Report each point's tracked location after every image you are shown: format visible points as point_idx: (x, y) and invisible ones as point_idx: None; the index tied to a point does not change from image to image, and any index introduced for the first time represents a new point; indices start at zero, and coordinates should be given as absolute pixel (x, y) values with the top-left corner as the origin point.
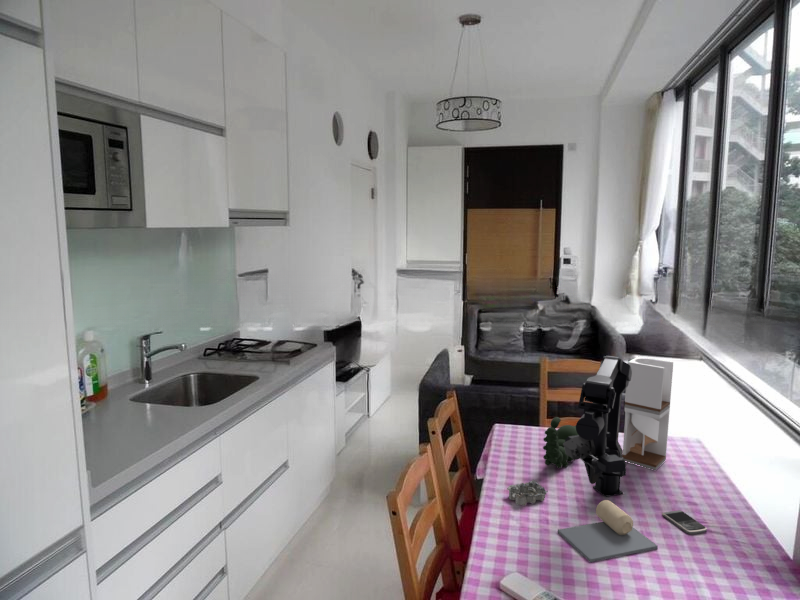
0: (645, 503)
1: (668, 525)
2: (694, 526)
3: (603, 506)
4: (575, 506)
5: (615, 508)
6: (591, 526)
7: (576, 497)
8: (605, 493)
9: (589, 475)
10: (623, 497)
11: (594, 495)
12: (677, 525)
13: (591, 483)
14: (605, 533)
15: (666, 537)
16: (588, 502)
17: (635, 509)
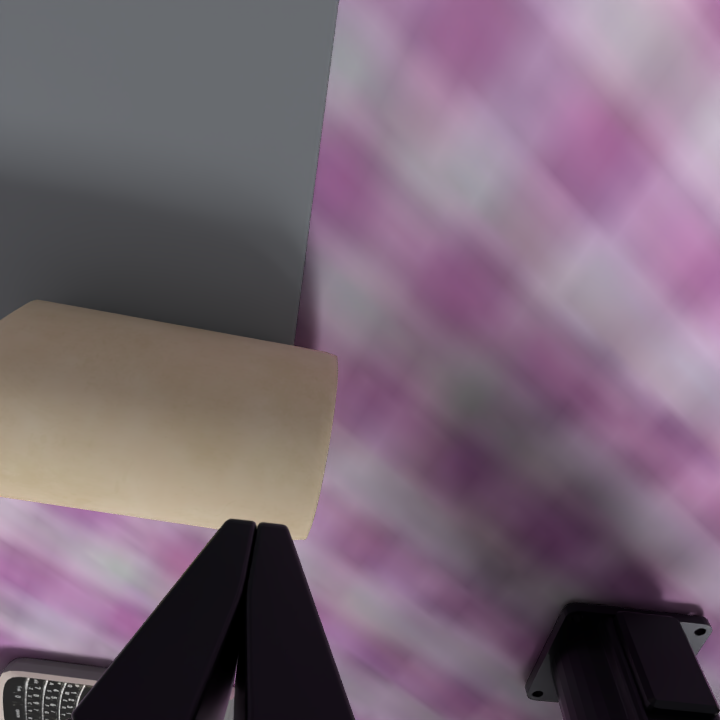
0: (377, 701)
1: (126, 643)
2: (40, 718)
3: (252, 431)
4: (620, 354)
5: (126, 480)
6: (264, 211)
7: (706, 452)
8: (587, 622)
9: (245, 648)
10: (496, 665)
11: (631, 562)
12: (96, 672)
13: (224, 522)
14: (121, 237)
15: (6, 555)
16: (594, 472)
17: (352, 629)
